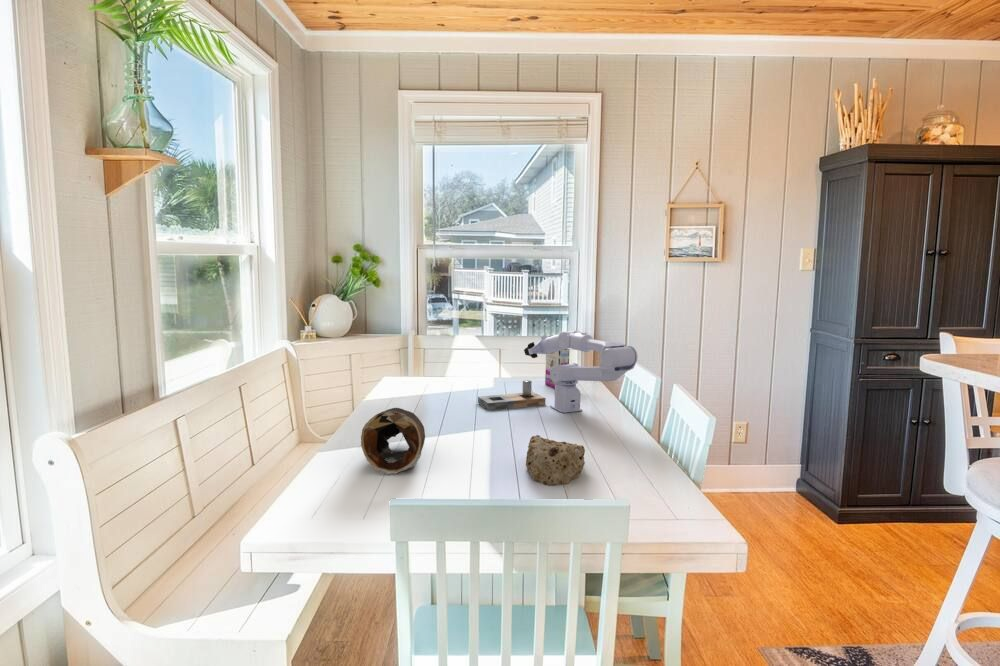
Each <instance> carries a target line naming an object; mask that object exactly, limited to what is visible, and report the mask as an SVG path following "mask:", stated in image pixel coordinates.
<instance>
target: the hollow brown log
mask: <svg viewBox="0 0 1000 666" xmlns="http://www.w3.org/2000/svg"><path fill="white" fill-rule="evenodd" d="M398 434H402V436H403V438H404V440H405V442H406V443H407V446H408V449H407V450H403V451H398V452H393V450H392V449H391V448H390V443H389V441H388V440H389V439H391V438H392V437H393V438H396V436H397V435H398ZM425 440H426V431H425V426H424V425H423V423H422V421H421V420H420V419H419V416H417V415H416V414H415V413H414V412H412V411H409V410H405V409H403V408H400V407H393V408H389V409H386V410H384V411H381V412H379V413H377V414H375V415H373V416H372V417H371V418H370V419H369V420H368V421H367V422H366V423H365V424H364V426H363V427H362V429H361V436H360V444H361V445H360V446H361V450H362V452H363V455H364V457H365V459H366V461H368V463H369V464H370V465H371V466H372V467H373V468H374V470H375V471H377V472H379V473H383V474H387V475H395V474H398V473H402V472H403V471H407V470H409V469H413V468H415V466H416V464H417V463H418V461H419V459H420V458H421V456H422V451H423V447H424V445H425ZM398 457H402V458H400V459H398V460H395V461H392V462H389V461H387V460H388V459H392V458H393V459H394V458H398Z"/></svg>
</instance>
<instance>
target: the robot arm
mask: <svg viewBox="0 0 1000 666" xmlns="http://www.w3.org/2000/svg"><path fill="white" fill-rule="evenodd" d="M565 349H571V350H576V351H579V352H584V353H588V352H590V351H591V350H592V351H595V352H598V353H600V356H599V357H600V366H584V365H579V364H578V363H569V364H567V365H558V366H557V365H554V366H552V368H551V370H550V377H551V379H552V381H553V383H554V384H555V388H554V404H550V405H549V407H550V408H552V409H554V410H556V411H559V412H560V413H573V412H582V411H583V409H582V408H581V391H580V389H579V388H578V387H577V384H578V382H579V381H581V382H582V381H583V382H614V381H617V380H618V379H620V378H621V377H623V375H625V374H626V373H627V372H629V371H632V370H633V369H635V367H636V364H637V361H638V352H637V350H636V348H635V347H634V346H632V345H626V344H625V343H621V342H614V341H607V340H602V339H600V340H599V339H594V338H593V336H592V335H590V334H588V332H586V331H585V332H584V331H583V332H578V331H577V330H573V331H562V332H559V333H558V334H555V335H550V336H547V335H546V334H543V335H541V336H540V340H539V341H538V342H537V343H536V344H535V342H534V341H533V342H531V343H528V344H527V347H526V348H524V349H523V351H524V352H523V353H524V355H525V356H529V357H530V358H532V359H536V358H538V357H539V356H538V354H539V355H540V354H541V355H546V354H550V353H553V352H557V351H561V350H565Z"/></svg>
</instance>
